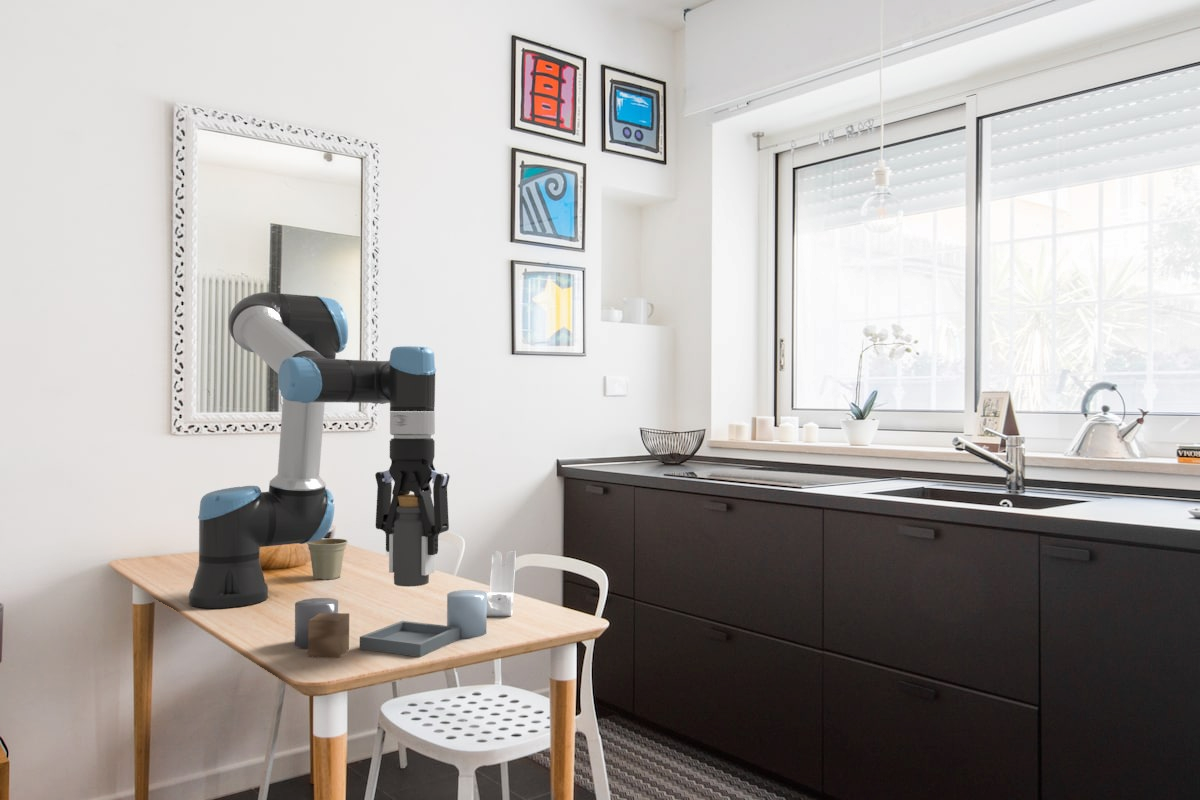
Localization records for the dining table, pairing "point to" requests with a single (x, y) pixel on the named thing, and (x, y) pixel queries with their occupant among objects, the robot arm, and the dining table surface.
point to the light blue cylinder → (467, 612)
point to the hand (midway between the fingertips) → (411, 572)
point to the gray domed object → (310, 616)
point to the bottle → (408, 543)
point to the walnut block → (328, 635)
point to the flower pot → (327, 557)
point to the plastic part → (501, 585)
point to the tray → (410, 638)
